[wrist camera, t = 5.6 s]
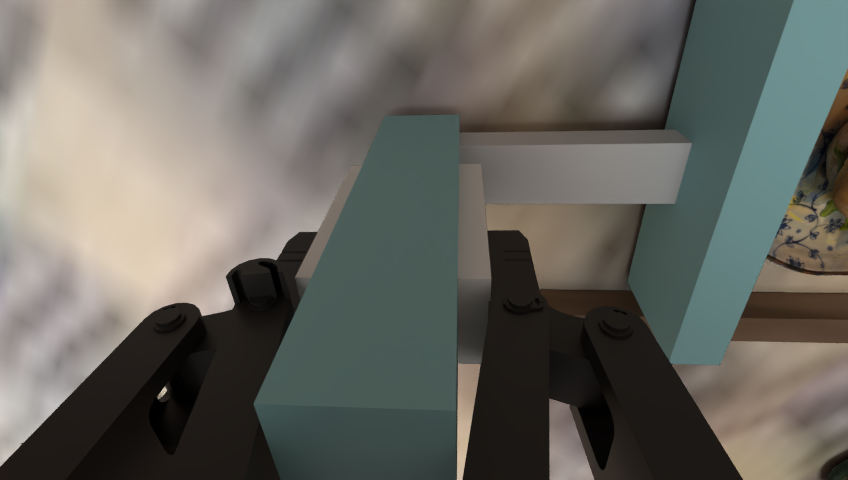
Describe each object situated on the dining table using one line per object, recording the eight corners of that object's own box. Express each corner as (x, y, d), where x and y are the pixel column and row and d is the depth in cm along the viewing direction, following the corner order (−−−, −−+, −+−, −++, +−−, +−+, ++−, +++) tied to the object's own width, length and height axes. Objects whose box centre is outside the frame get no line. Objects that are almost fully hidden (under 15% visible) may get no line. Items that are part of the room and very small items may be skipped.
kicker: (668, 281, 23) (915, 680, 11) (401, 279, 24) (337, 638, 12) (767, -45, 16) (2000, -16, 3) (377, -29, 17) (124, 43, 4)
